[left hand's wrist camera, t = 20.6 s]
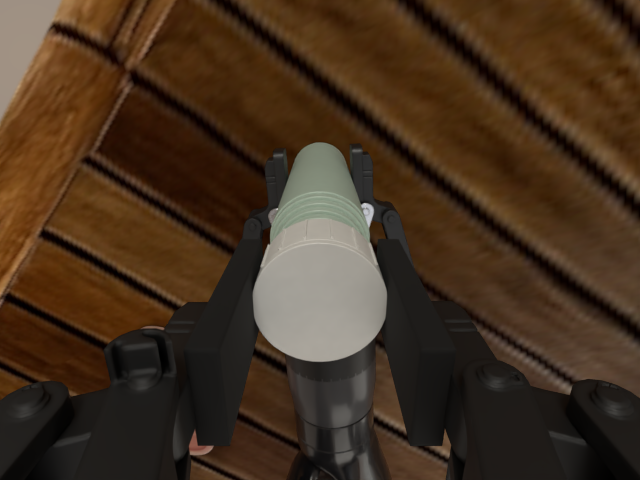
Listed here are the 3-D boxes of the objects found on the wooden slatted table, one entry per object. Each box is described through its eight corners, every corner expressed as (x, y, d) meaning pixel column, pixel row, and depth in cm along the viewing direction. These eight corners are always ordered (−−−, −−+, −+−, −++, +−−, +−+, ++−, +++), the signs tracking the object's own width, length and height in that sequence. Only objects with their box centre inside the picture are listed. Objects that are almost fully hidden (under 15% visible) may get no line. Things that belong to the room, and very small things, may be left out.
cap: (246, 302, 15) (233, 339, 13) (284, 199, 14) (277, 221, 11) (350, 337, 16) (356, 378, 13) (398, 242, 14) (412, 270, 12)
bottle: (340, 200, 35) (369, 362, 14) (289, 189, 34) (242, 340, 14) (352, 148, 33) (405, 246, 12) (298, 137, 33) (262, 218, 12)
